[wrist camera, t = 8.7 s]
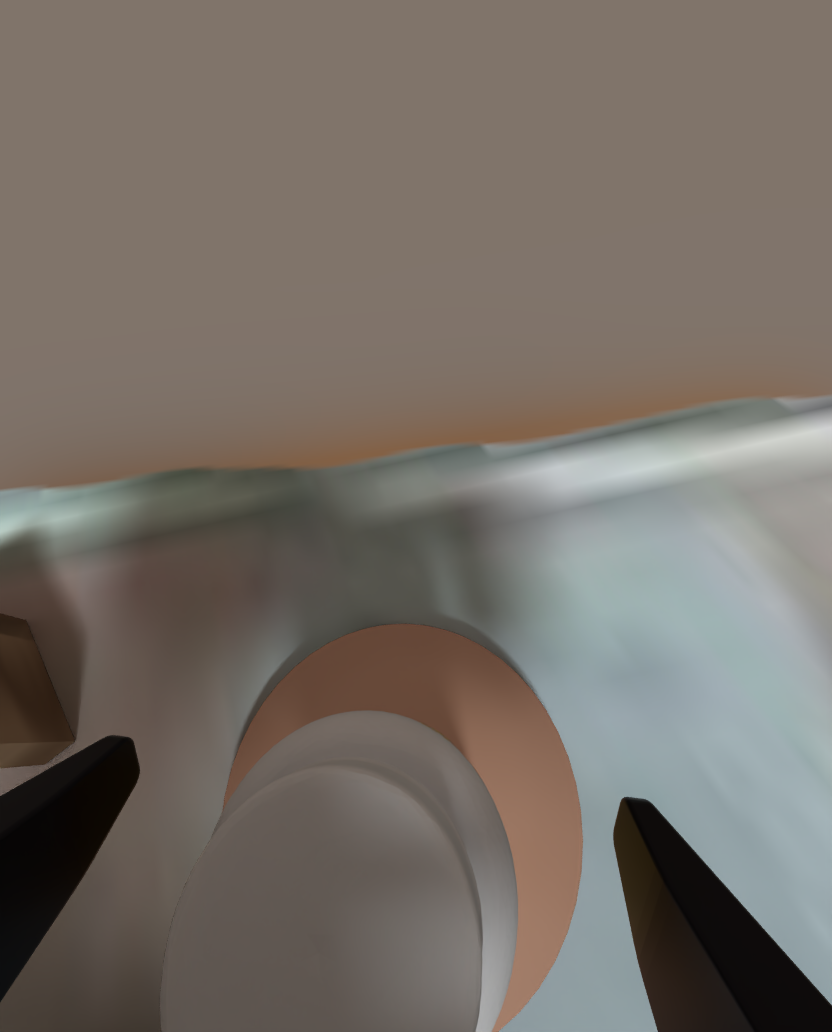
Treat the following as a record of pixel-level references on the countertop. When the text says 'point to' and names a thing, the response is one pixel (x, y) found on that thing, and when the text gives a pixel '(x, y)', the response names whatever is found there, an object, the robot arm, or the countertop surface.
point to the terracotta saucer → (479, 737)
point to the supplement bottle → (348, 891)
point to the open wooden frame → (27, 701)
